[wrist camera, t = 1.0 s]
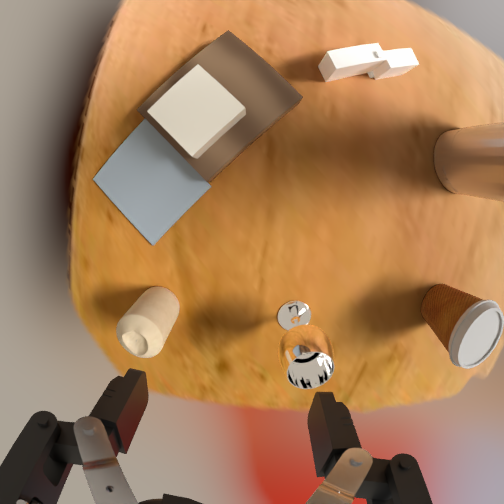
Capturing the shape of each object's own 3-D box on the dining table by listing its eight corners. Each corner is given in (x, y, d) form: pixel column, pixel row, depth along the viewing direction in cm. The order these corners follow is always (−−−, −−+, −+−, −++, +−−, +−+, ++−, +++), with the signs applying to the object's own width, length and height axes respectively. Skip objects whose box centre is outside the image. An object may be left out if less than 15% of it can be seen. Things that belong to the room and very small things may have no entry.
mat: (146, 119, 31) (145, 118, 30) (211, 186, 33) (211, 186, 33) (94, 179, 32) (92, 179, 32) (153, 244, 35) (152, 245, 34)
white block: (202, 73, 27) (197, 64, 24) (246, 114, 28) (245, 107, 25) (156, 116, 28) (147, 111, 25) (197, 158, 29) (191, 156, 26)
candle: (134, 303, 37) (102, 340, 27) (157, 277, 36) (127, 310, 26) (163, 330, 38) (141, 373, 28) (188, 306, 37) (169, 347, 27)
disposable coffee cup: (426, 340, 39) (465, 382, 27) (401, 306, 37) (445, 348, 25) (465, 299, 37) (510, 331, 25) (445, 260, 35) (497, 288, 24)
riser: (230, 40, 28) (228, 30, 25) (298, 103, 30) (302, 97, 28) (145, 114, 31) (136, 109, 28) (210, 181, 33) (206, 181, 30)
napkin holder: (299, 88, 30) (308, 72, 25) (320, 21, 28) (330, 0, 22) (405, 133, 32) (428, 127, 26) (418, 66, 29) (439, 54, 23)
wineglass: (265, 325, 37) (270, 384, 26) (284, 289, 36) (299, 338, 24) (303, 340, 38) (320, 398, 26) (323, 305, 37) (351, 356, 25)
